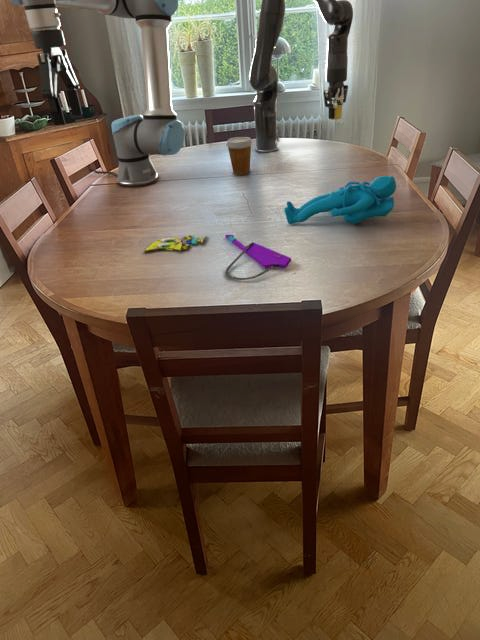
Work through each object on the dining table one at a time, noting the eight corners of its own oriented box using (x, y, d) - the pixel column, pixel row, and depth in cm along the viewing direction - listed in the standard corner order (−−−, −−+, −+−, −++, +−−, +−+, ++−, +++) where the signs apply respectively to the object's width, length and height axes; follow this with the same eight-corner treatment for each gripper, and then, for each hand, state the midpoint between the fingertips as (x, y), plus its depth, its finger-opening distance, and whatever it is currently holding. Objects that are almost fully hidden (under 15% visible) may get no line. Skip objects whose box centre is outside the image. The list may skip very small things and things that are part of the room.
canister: (332, 120, 180) (332, 107, 177) (326, 118, 184) (327, 105, 181) (343, 118, 181) (344, 106, 178) (338, 116, 184) (338, 104, 182)
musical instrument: (267, 291, 107) (306, 245, 119) (265, 283, 105) (305, 238, 118) (184, 277, 119) (226, 237, 132) (181, 270, 118) (225, 230, 130)
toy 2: (287, 190, 142) (392, 164, 132) (296, 223, 147) (398, 200, 137) (279, 211, 128) (396, 183, 118) (290, 247, 133) (402, 223, 123)
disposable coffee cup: (225, 175, 181) (222, 142, 175) (234, 168, 188) (232, 136, 182) (248, 176, 178) (246, 143, 171) (257, 169, 185) (255, 136, 178)
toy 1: (199, 248, 125) (143, 249, 127) (199, 251, 125) (144, 252, 127) (206, 233, 133) (154, 234, 135) (206, 236, 133) (154, 237, 136)
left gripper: (40, 30, 109) (66, 128, 121) (77, 26, 130) (96, 110, 142) (9, 33, 110) (37, 130, 121) (50, 28, 131) (71, 112, 142)
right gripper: (335, 69, 166) (333, 121, 175) (355, 64, 175) (353, 114, 184) (317, 69, 170) (316, 120, 180) (337, 64, 179) (336, 113, 188)
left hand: (69, 119), depth 132 cm, fingers open, 13 cm apart
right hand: (335, 117), depth 182 cm, fingers closed on canister, 4 cm apart
